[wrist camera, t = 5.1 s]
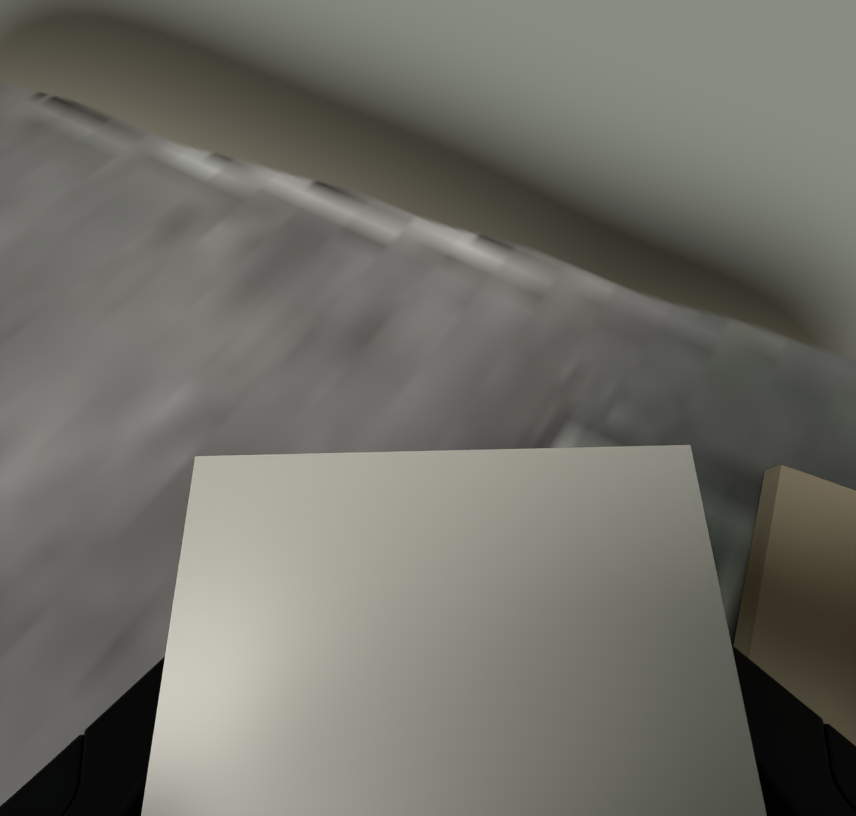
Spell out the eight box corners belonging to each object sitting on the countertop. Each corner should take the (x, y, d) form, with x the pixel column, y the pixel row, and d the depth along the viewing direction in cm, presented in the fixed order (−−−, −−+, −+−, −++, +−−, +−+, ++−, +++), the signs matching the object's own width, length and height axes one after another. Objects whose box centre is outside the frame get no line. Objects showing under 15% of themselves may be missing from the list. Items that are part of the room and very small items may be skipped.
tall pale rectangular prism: (543, 725, 13) (844, 1197, 3) (353, 726, 13) (85, 1182, 3) (526, 529, 15) (690, 444, 5) (359, 532, 15) (195, 455, 5)
